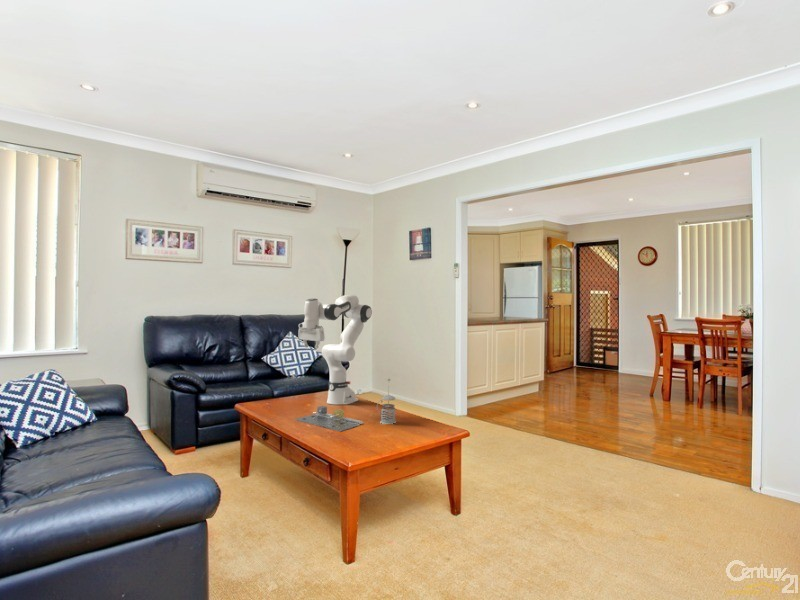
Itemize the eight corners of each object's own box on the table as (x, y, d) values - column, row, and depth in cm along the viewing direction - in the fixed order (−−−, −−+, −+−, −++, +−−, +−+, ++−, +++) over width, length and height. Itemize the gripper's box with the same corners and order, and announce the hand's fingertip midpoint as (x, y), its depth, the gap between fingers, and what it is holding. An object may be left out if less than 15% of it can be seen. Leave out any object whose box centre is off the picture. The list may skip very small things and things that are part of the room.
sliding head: (338, 414, 270) (339, 409, 270) (343, 416, 267) (343, 410, 267) (327, 418, 262) (327, 411, 262) (332, 419, 260) (332, 413, 260)
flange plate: (313, 415, 275) (313, 414, 275) (358, 425, 254) (358, 424, 254) (295, 419, 264) (295, 418, 264) (340, 431, 242) (340, 430, 242)
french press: (394, 425, 256) (395, 380, 256) (374, 423, 258) (375, 379, 258) (398, 420, 266) (399, 377, 266) (378, 419, 268) (379, 376, 268)
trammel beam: (321, 413, 279) (321, 405, 279) (363, 423, 258) (363, 414, 258) (309, 416, 271) (309, 408, 271) (352, 427, 251) (352, 418, 251)
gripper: (327, 325, 277) (326, 348, 278) (304, 324, 290) (304, 346, 290) (319, 326, 272) (318, 349, 273) (296, 324, 285) (296, 346, 285)
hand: (311, 347), depth 281 cm, fingers open, 8 cm apart
